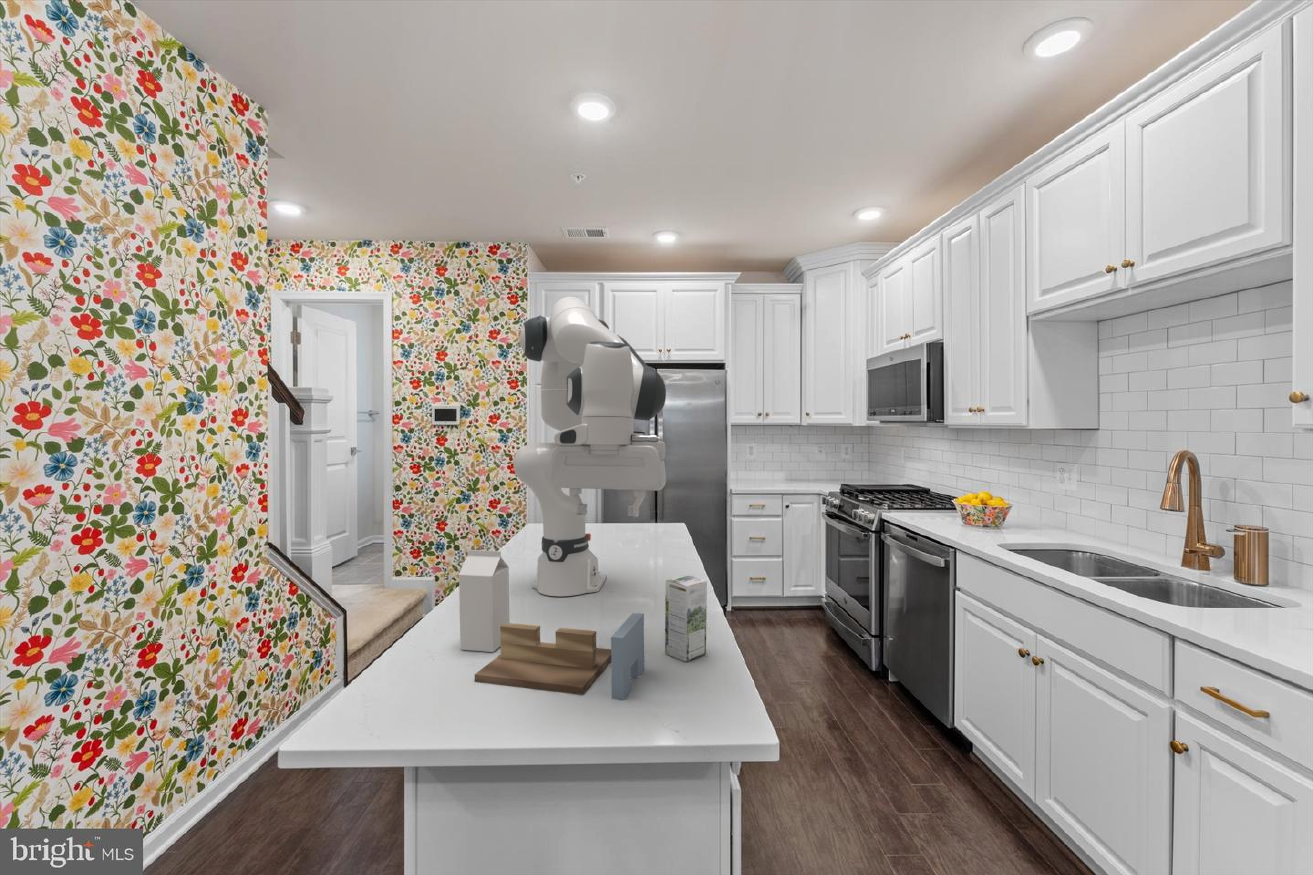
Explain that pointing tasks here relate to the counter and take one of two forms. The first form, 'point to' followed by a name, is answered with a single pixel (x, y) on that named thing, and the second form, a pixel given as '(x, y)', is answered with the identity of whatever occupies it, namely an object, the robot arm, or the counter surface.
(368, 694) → the counter surface
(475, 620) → the milk carton
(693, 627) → the syrup box
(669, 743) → the counter surface
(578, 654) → the rail stand
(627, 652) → the slotted plate
